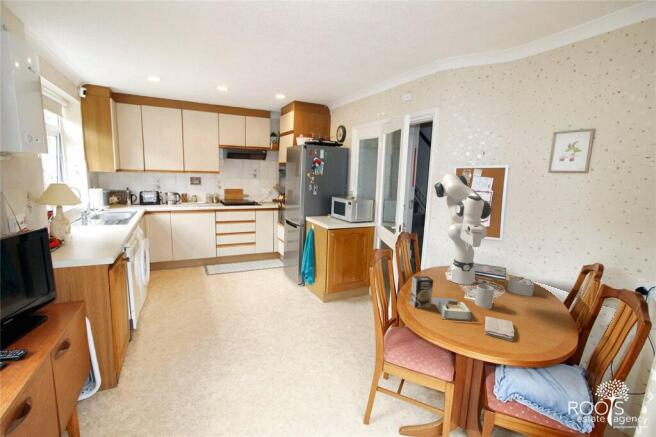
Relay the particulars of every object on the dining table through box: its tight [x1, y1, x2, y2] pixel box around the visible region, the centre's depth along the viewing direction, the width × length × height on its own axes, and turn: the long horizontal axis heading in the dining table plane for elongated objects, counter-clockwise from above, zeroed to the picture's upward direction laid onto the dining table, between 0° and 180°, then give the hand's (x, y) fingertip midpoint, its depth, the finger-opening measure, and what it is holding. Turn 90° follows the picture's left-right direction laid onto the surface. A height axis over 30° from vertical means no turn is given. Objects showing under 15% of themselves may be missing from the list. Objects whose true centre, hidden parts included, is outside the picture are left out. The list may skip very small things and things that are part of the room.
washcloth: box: [484, 316, 515, 342], centre depth 145 cm, size 12×18×3 cm, turn 154°
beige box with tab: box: [446, 300, 462, 310], centre depth 157 cm, size 7×6×6 cm
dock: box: [431, 296, 472, 323], centre depth 164 cm, size 24×14×5 cm, turn 175°
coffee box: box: [409, 275, 434, 309], centre depth 165 cm, size 9×6×16 cm
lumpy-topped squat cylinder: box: [507, 276, 535, 297], centre depth 192 cm, size 10×13×9 cm
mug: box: [474, 283, 495, 310], centre depth 171 cm, size 12×8×11 cm
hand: (468, 250), depth 171 cm, fingers closed
